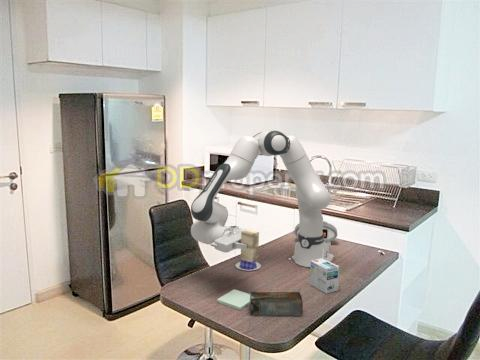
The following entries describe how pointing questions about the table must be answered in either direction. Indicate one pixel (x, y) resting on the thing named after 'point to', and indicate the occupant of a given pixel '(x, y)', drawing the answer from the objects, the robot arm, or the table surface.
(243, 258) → the beech block
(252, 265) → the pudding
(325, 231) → the alarm clock
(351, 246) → the table surface
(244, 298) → the sage tile
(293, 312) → the beverage carton
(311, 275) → the light bulb box
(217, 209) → the robot arm
